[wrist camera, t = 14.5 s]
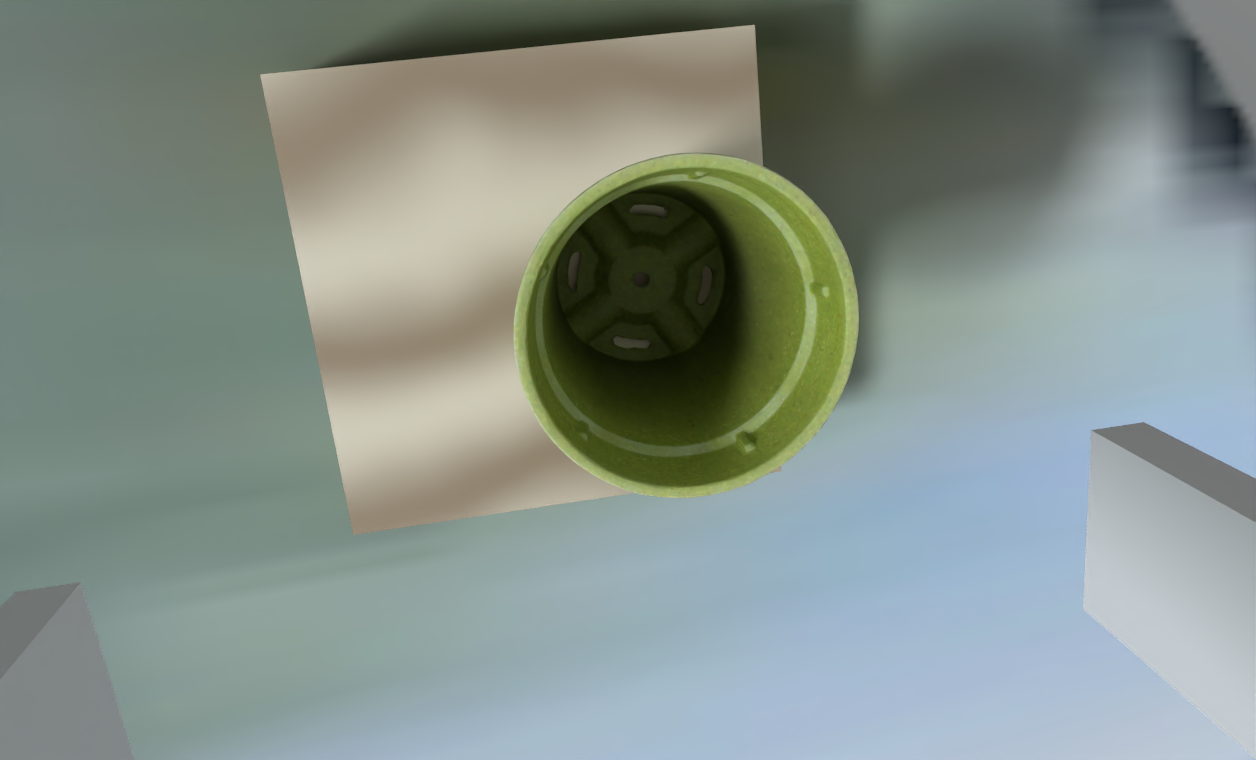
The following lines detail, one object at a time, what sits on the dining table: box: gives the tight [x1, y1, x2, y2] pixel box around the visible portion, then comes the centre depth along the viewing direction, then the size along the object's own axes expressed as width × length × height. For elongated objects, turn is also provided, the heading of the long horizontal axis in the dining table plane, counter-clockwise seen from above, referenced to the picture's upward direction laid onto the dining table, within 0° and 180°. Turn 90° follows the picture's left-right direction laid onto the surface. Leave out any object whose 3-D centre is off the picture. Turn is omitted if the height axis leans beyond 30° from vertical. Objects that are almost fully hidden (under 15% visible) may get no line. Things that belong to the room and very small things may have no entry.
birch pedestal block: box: [261, 25, 781, 535], centre depth 36 cm, size 16×16×5 cm
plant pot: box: [514, 153, 859, 498], centre depth 30 cm, size 9×9×9 cm
